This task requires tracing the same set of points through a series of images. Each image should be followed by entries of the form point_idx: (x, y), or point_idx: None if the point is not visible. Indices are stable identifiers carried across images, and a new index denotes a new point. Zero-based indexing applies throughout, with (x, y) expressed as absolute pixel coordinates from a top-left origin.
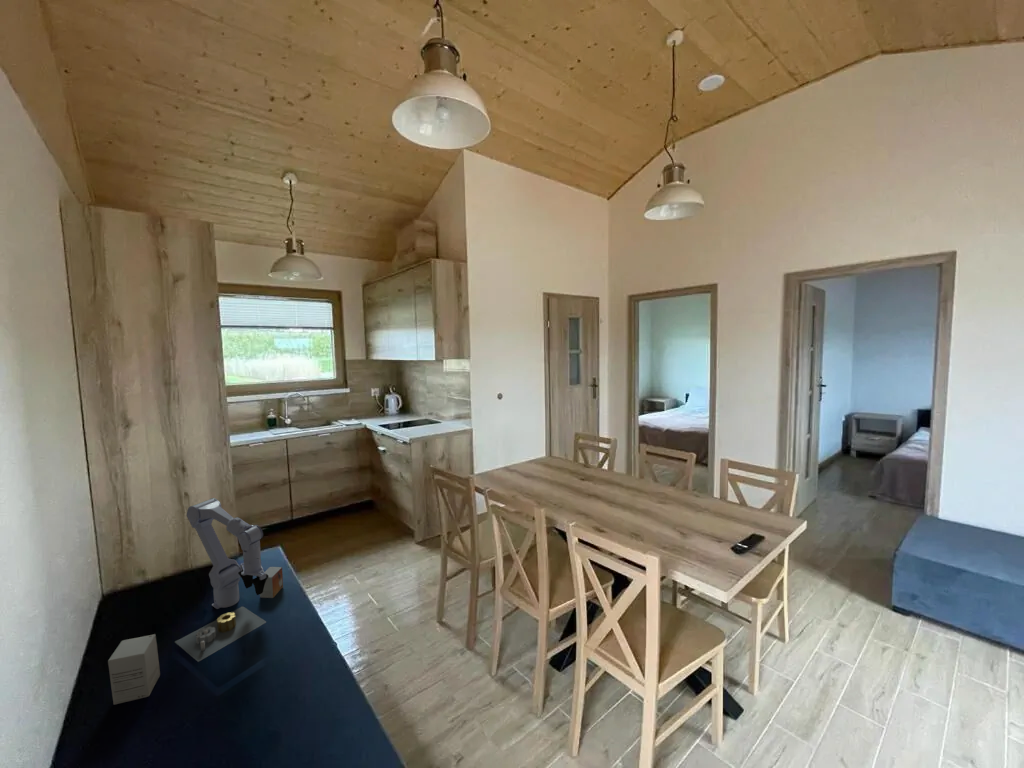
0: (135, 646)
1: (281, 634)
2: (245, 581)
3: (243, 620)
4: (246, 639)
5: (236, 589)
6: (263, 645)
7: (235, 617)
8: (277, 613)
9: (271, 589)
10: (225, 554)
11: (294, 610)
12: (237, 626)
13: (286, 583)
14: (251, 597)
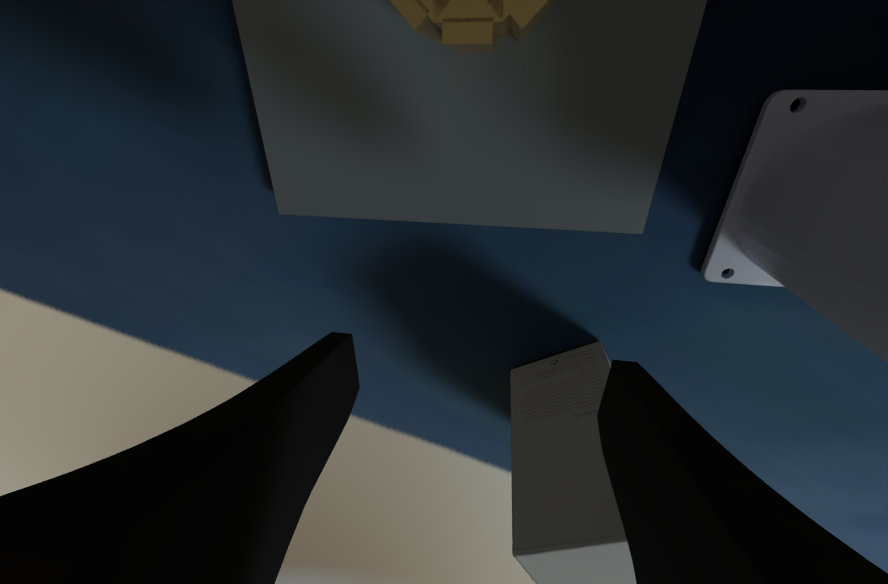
0: None
1: (148, 202)
2: (666, 460)
3: (442, 123)
4: None
5: (855, 314)
6: (97, 66)
7: (419, 31)
8: (368, 308)
9: (519, 435)
10: None
11: None
12: (404, 38)
13: None
14: (704, 336)
